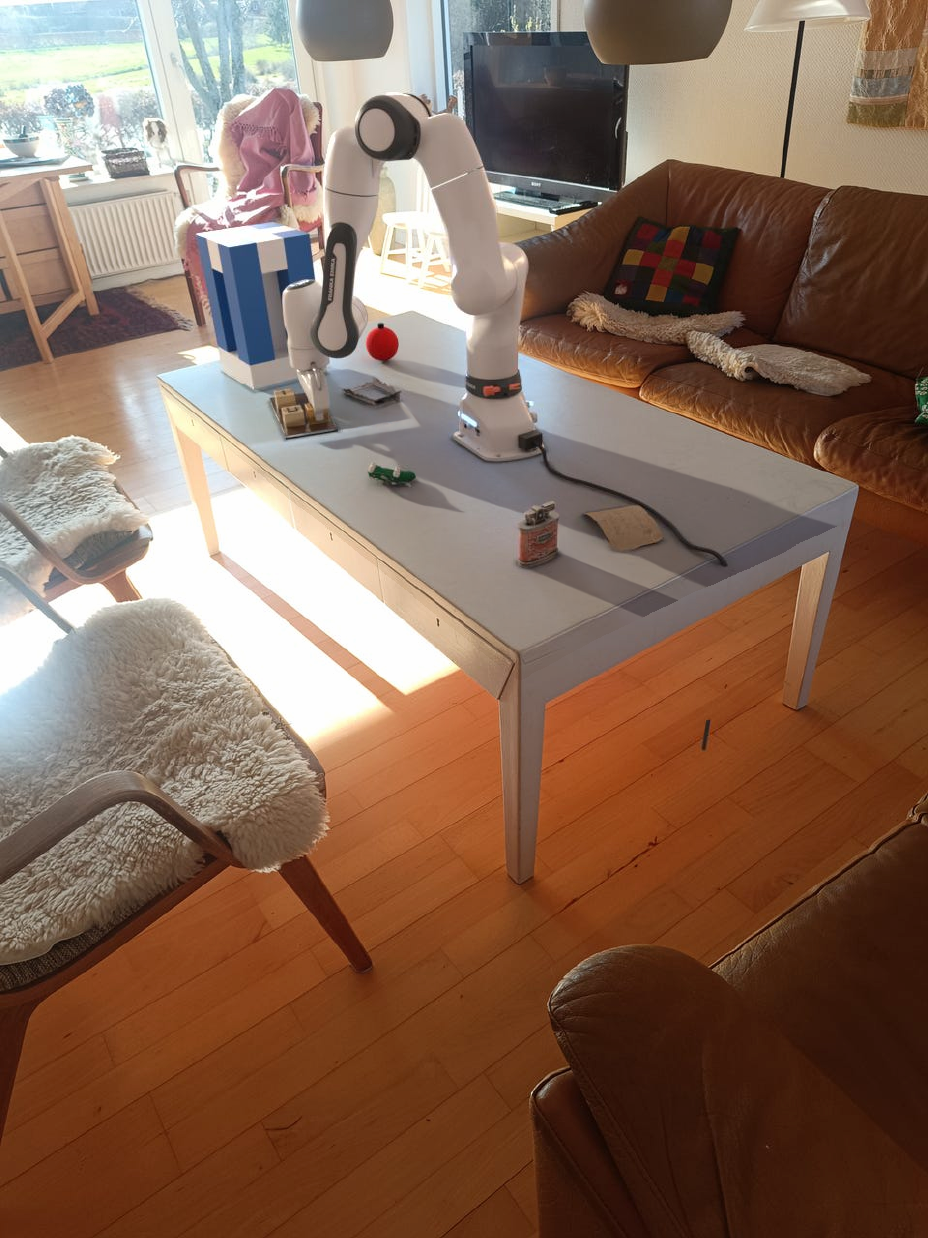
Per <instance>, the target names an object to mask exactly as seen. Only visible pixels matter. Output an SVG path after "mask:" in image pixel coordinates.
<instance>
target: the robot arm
mask: <svg viewBox="0 0 928 1238" xmlns="http://www.w3.org/2000/svg"><path fill="white" fill-rule="evenodd" d="M325 158H326V159H325V165H324V175H323V196H322V197H323V198H322V199H323V200H322V205H323V228H324V230H323V231H324V260H323V262H324V263H323V274H322V284H321V283H320V282H319V281H317V280H316V279H315V280H312V279H305V280H300V281H297V282H294V283H292V284H290V285H289V286H288V287H287V288H286V289H285V290H284V292H283V298H282V303H283V316H284V324H285V328H286V330H287V333H288V342H287V344H288V351H289V358H290V365H291V367H292V368H294V369H296V372H297V376H298V378H297V379H298V382H299V385H300V386H301V388H302V390H303V392H304V393H306V395H307V397H308V400H309V403H311V404H312V406H313V408H314V414H315V419H316V420H317V421H321V420H323V419H324V417H323V410H325V409H327V410H329V409H330V406H331V403H330V396H329V389H328V383H327V378H326V376H325V372H324V371H325V366H326V367H327V366H329V364H330V363H331V361H330V358H332V359H343V358H346V357H349V356H350V355H351V354H352V353H353V352H354V351H355V350H356V349H357V346H358V343H359V340H360V339H361V337H362V335H363V333H364V331H365V329H366V327H367V325H368V320H369V316H368V315H369V314H368V311H367V308H366V305H365V304H364V303H363V302H362V300H361V299H360V298H358V297H357V296H355V295H354V289H355V288H354V287H355V279H356V278H355V276H356V269H357V264H358V260H359V257H360V254H361V252H362V250H363V247H364V246H365V244H366V242H367V240H368V238H369V237H370V234H371V232H372V230H373V228H374V225H375V224H374V223H375V219H376V215H377V211H378V206H379V194H380V179H381V173H382V169H383V166H384V165H385V163H386V162H395V161H396V162H397V161H409V160H411V159H414V160H415V161H417V162H418V163H419V164H420V166H421V168H422V170H423V172H424V174H425V176H426V180H427V183H428V186H429V189H430V191H431V194H432V198H433V200H434V203H435V206H436V208H437V212H438V214H439V217H440V220H441V223H442V226H443V230H444V233H445V238H446V243H447V251H448V255H449V263H450V269H451V284H450V293H451V298H452V300H453V302H454V304H455V306H456V307H457V308H458V309H459V310H460V311H461V312H463V313H464V314H466V315H468V316H469V315H470V318H469V323H468V328H467V330H466V336H465V345H466V347H465V348H466V370H465V376H464V383H465V385H464V386H465V390H466V391H465V394H464V396H463V397H462V398H461V400H460V402H459V411H458V412H457V413H458V414H457V415H458V416H459V419H458V420H459V421H458V422H459V423H458V424H459V425H458V426H459V427H458V428H459V429H458V430H457V431H456V432H454V433H453V440H454V441H456V442H457V443H458V444H460V445H461V446H462V447H464V448H466V449H467V450H468V451H470V452H471V453H473V454H474V455H476V456H477V457H479V458H480V459H482V460H484V461H486V462H509V461H515V460H521V459H526V458H530V457H534V456H537V455H540V454H542V460H543V463H544V465H545V467H546V468H547V470H548V471H549V472H550V473H551V474H553V475H554V476H556V477H558V478H561V479H563V480H565V481H568V482H572V483H576V484H579V485H583V486H586V487H590V488H592V489H595V490H599V491H602V492H605V493H608V494H611V495H613V496H616V497H619V498H621V499H623V500H626V501H628V502H630V503H633V504H635V505H637V506H640V507H642V508H643V509H644V510H645V511H646V512H647V511H648V512H649V513H650V514H652V515H654V516H655V517H656V518H657V519H659V520H660V521H661V522H662V523H663V524H664V525H666V526H667V527H668V528H669V529H670V530H671V531H672V532H673V533H674V535H675V536H676V537H677V538H678V540H679V541H680V542H681V543H682V544H684V545H685V546H686V547H687V548H689V549H691V550H693V551H696V552H701V553H706V554H708V555H711V556H713V557H714V558H716V559H717V560H718V561H719V563H720V565H721V566H722V567H724V568H726V567H728V563H727V561H726V560H725V558H724V557H723V556H722V555H721V554H720V552H718V551H716V550H714V549H711V548H708V547H704V546H699V545H696V544H694V543H692V542H691V541H689V540H688V539H687V538H685V536H684V535H682V533H681V532H680V530H679V529H678V528H677V527H676V526H675V525H674V524H673V523H672V522H671V521H669V520H668V519H667V518H666V517H665V516H664V515H662V514H661V513H660V512H658V511H657V510H656V509H654V508H653V507H651V506H650V505H648V504H646V503H645V502H643V501H641V500H638V499H636V498H634V497H632V496H630V495H628V494H625V493H622V492H621V491H617V490H614V489H611V488H609V487H605V486H603V485H600V484H596V483H593V482H590V481H586V480H583V479H580V478H577V477H572V476H569V475H566V474H564V473H562V472H560V471H558V470H556V469H554V468H553V467H552V466H551V465H550V462H549V460H548V455H547V451H546V448H545V444H544V443H543V439H544V437H543V436H544V435H543V433H542V432H541V431H539V430H537V429H536V427H535V426H534V424H537V423H538V414H537V412H535V411H534V412H531V411H530V407H531V406H534V401H531V400H526V398H525V395H524V391H523V384H522V376H521V371H520V369H519V334H520V326H521V319H522V312H523V307H524V299H525V289H526V282H527V277H528V274H529V268H530V267H529V265H530V264H529V260H528V256H527V255H526V253H525V251H524V250H523V249H522V247H520V246H519V245H517V244H516V243H513V242H508V241H507V242H506V241H500V237H499V228H498V206H497V202H496V200H495V196H494V194H493V191H492V188H491V185H490V181H489V178H488V176H487V172H486V169H485V167H484V163H483V160H482V156H481V155H480V152H479V149H478V148H477V145H476V142H475V141H474V138H473V136H472V134H471V131H470V130H469V128H468V127H467V124H466V123H465V121H464V120H463V118H461V117H460V116H459V115H458V114H455V113H452V112H451V113H450V112H443V113H439V114H436V115H434V116H433V114H432V111H431V110H430V108H429V107H428V105H427V103H426V102H425V101H423V99H421V98H420V97H418V96H417V95H415V94H413V93H408V92H407V93H404V92H403V93H400V92H387V93H383V94H381V95H380V94H379V95H375V96H372V97H371V98H369V99H367V100H366V101H365V102H364V103H363V104H362V105H361V106H360V107H359V110H358V111H357V114H356V117H355V120H354V126H351V125H350V126H344V127H341V128H338V129H337V130H336V131H334V132H333V133H332V135H331V137H330V140H329V144H328V147H327V154H326V157H325ZM323 372H324V373H323ZM711 721H712V719H711V718H709V719H706V720H705V725H704V731H703V735H702V736H703V737H702V743H701V751H706V750H707V745H708V738H709V733H710V725H711Z"/></svg>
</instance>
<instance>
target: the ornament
mask: <svg viewBox="0 0 928 1238" xmlns="http://www.w3.org/2000/svg"><path fill="white" fill-rule="evenodd" d="M399 343H400V342H399V339H398V335H397V334H396V333H395V331H394V330H392V329H391V328H390V327H387V326H385V323H383V322H379V323H377V325H376V327H374V328H373V329H371V331H369V333H368V335H367V336H366V339H365V347H366V350H367V353H368V354H369V355H370V357H371V358H373V359H374V360H375V361H379V362H386V361H389V360H391V359H393V358H394V357H395V356H396V354H397V352H398V351H399V346H400V344H399Z"/></svg>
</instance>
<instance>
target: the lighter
mask: <svg viewBox="0 0 928 1238" xmlns="http://www.w3.org/2000/svg"><path fill="white" fill-rule="evenodd" d="M555 510H556V502H554V501H553V500H551V501H548V502H545V503H543V504H541V505H540V506H539V505H537V504H534V505H532V507H531V508H530V509H529V510H526V511H524V520H522V521H520V522H519V523H518V524H517V529H518V532H519V533H518V534H519V535H518V558H517V565H518V566H519V567H521V568H530V567H531V568H532V567H535V566H538V565H540V564H543V563H546V562H547V561H550V560H552V559H553V558H555V557H557V556H558V553H559V548H558V532H559V531H558V530H559V527H558V526H559V520H560V514H559V513H558V512H556V511H555Z"/></svg>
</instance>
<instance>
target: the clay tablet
mask: <svg viewBox="0 0 928 1238" xmlns="http://www.w3.org/2000/svg"><path fill="white" fill-rule="evenodd" d="M583 515H587V516H589V517H590V518H591V519H592V520H594V521H596V522H597V524H598V525H599V526H600V528H601V530H603V532H604V534H605V536H606V538H607V540H608V541H609V545H610V547H611V549H612V550H614V551H616V552H624V551H632V550H636V549H638V548H640V547H642V546H646V545H650V544H653V543H658V542H659V541H661V540H662V539H663V533H662V531H661V529H660V528H659V525H658V523H657V522H656V520H655V519H654V518H653V517H652V516H650V515H649V514H648V512H647V510H646V509H644V508H642V507H641V506H639V505H637V504H635V505H627V506H623V507H622V506H621V507H616V508H611V509H605V510H604V509H603V510H599V511H593V512H592V511H591V512H584V513H583Z"/></svg>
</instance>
